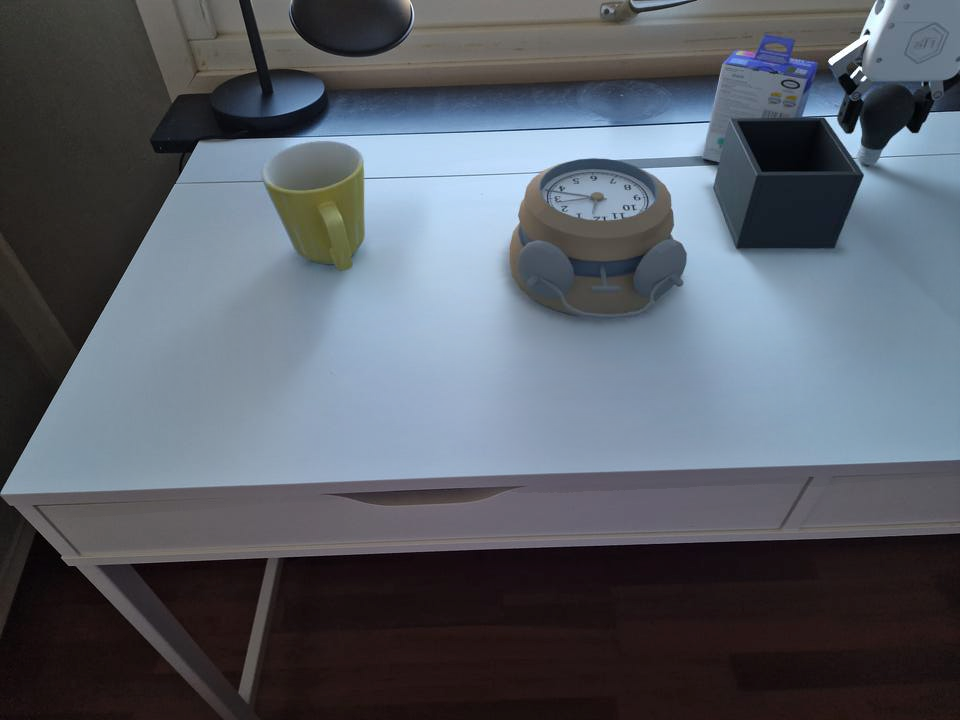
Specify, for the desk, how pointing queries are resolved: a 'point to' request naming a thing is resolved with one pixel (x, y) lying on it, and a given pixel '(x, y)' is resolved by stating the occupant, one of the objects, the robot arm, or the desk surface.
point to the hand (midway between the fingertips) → (877, 127)
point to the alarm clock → (596, 240)
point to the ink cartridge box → (758, 89)
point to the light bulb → (883, 119)
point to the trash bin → (785, 183)
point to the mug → (319, 199)
